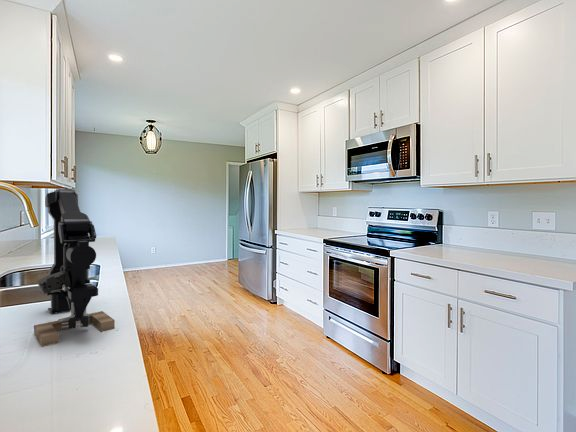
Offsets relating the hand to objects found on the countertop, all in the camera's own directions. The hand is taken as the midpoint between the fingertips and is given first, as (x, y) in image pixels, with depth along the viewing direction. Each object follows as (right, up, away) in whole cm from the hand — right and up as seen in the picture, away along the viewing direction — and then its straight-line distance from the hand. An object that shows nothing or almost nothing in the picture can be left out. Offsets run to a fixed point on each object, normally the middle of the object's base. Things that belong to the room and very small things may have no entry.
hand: (76, 316), depth 89 cm
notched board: (-1, -4, +1) cm, 4 cm away
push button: (0, -3, 0) cm, 3 cm away
